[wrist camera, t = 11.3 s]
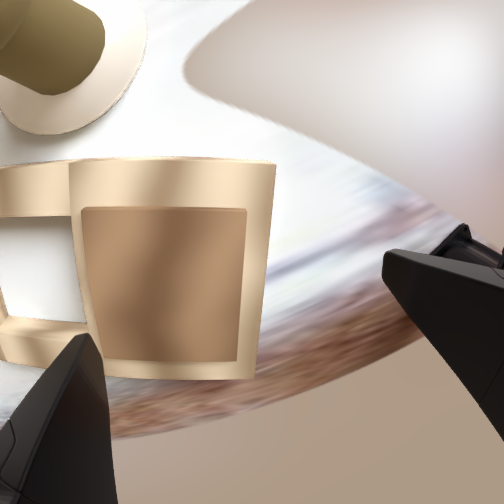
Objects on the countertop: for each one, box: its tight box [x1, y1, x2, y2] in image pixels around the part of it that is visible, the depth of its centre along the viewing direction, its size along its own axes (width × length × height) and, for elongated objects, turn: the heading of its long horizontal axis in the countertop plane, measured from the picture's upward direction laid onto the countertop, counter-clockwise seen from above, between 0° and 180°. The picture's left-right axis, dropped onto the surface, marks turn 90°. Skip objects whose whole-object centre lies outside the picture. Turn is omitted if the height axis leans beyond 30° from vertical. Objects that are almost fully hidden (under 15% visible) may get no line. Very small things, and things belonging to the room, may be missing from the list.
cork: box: [0, 0, 106, 96], centre depth 8 cm, size 6×6×11 cm
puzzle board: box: [0, 157, 276, 380], centre depth 18 cm, size 22×15×3 cm
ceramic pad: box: [0, 0, 147, 135], centre depth 13 cm, size 11×11×1 cm
